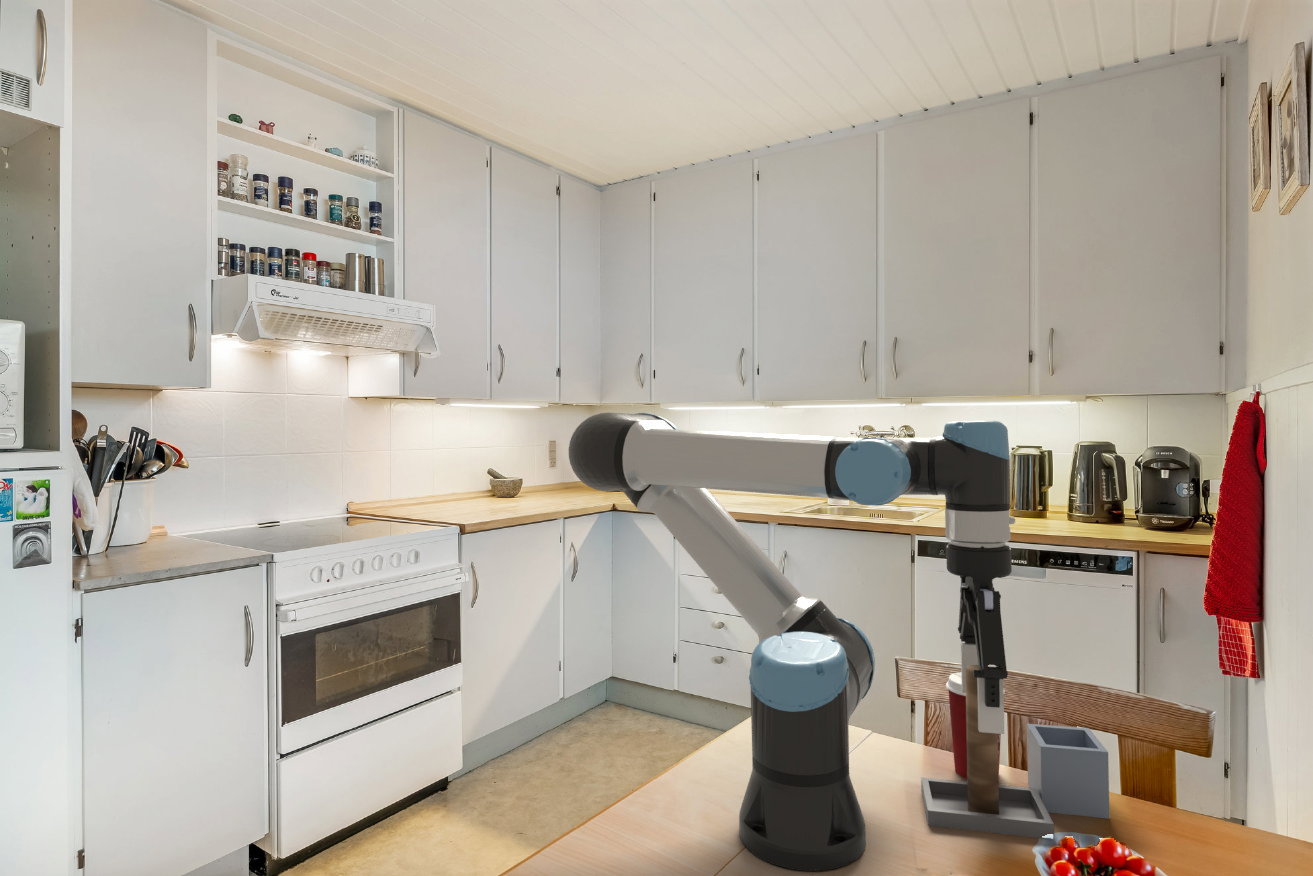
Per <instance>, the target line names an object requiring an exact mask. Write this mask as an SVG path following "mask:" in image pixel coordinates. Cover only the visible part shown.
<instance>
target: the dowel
mask: <svg viewBox="0 0 1313 876" xmlns="http://www.w3.org/2000/svg"><path fill="white" fill-rule="evenodd" d="M974 670H979V665H970V666H967V667H966V668H965V673H966V728H967V781H966V782H968V811H969V812H977V813H986V814H996V815H999V785H1000V784H999V783H1000V782H999V777H1000V776H999V775H998V734H997V733H985V732H979V730H978V689H977V678H974V677H973V672H974Z"/></svg>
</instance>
